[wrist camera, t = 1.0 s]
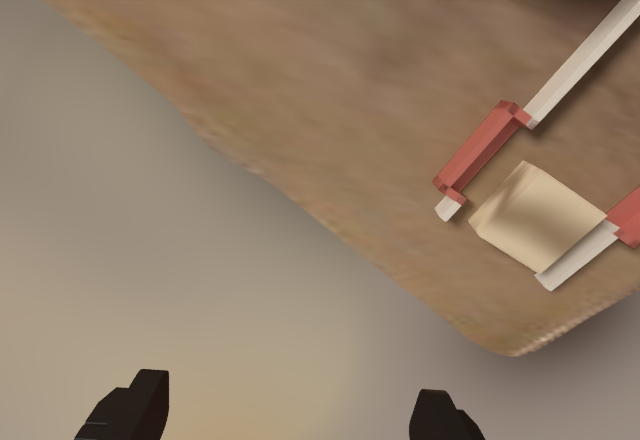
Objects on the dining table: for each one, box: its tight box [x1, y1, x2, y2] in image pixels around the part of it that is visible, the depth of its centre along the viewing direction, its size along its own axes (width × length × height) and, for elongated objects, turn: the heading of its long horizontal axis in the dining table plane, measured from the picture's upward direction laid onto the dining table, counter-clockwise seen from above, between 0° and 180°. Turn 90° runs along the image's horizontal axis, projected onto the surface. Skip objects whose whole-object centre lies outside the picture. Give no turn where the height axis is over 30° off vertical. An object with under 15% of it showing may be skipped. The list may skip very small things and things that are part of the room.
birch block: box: [468, 160, 608, 274], centre depth 33 cm, size 8×8×4 cm
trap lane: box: [432, 0, 640, 292], centre depth 28 cm, size 28×20×5 cm
